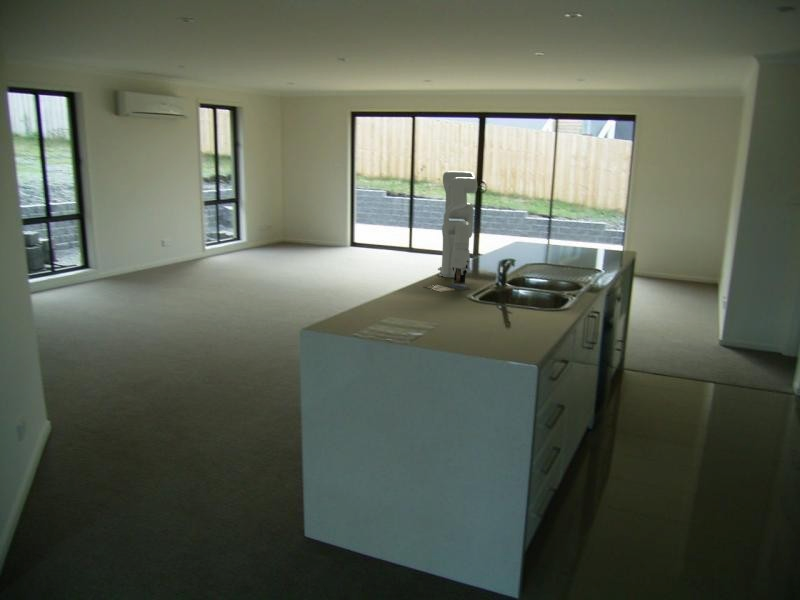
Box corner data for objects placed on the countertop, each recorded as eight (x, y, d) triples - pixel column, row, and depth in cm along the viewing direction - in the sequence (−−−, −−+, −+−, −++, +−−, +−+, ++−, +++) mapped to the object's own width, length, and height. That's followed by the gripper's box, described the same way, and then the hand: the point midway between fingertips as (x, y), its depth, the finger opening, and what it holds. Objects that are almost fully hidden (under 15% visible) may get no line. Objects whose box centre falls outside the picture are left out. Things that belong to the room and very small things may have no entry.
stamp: (453, 283, 333) (454, 267, 331) (459, 282, 336) (460, 266, 334) (459, 284, 330) (460, 268, 328) (464, 283, 333) (465, 267, 331)
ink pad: (448, 287, 335) (448, 284, 334) (457, 286, 339) (457, 283, 339) (460, 290, 328) (460, 287, 328) (469, 289, 333) (470, 286, 332)
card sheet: (422, 287, 333) (422, 286, 333) (436, 285, 339) (436, 284, 339) (441, 291, 323) (441, 291, 323) (455, 289, 329) (455, 289, 329)
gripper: (445, 245, 333) (443, 279, 337) (467, 249, 320) (465, 284, 324) (455, 244, 337) (453, 278, 341) (478, 248, 325) (476, 283, 329)
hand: (459, 280), depth 333 cm, fingers closed on stamp, 3 cm apart
